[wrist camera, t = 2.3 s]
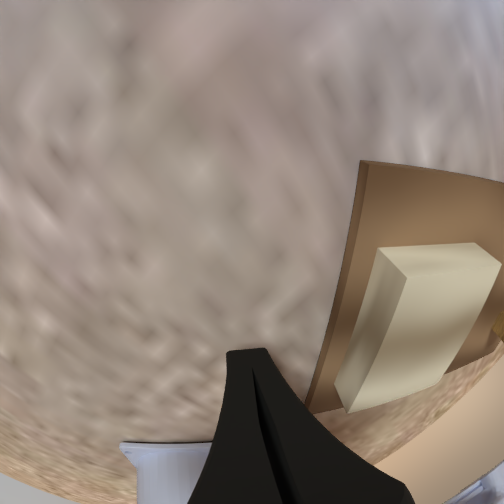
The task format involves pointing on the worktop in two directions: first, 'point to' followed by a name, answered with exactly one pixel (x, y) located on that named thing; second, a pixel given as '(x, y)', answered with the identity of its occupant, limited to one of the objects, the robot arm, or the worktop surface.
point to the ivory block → (413, 320)
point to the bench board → (410, 234)
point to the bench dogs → (499, 326)
